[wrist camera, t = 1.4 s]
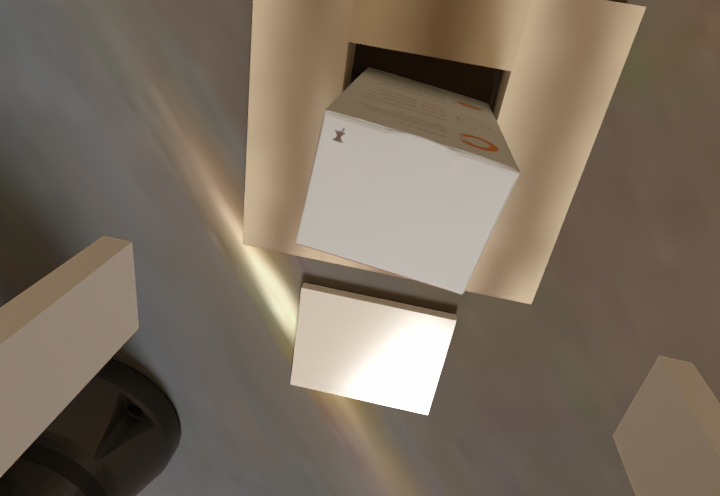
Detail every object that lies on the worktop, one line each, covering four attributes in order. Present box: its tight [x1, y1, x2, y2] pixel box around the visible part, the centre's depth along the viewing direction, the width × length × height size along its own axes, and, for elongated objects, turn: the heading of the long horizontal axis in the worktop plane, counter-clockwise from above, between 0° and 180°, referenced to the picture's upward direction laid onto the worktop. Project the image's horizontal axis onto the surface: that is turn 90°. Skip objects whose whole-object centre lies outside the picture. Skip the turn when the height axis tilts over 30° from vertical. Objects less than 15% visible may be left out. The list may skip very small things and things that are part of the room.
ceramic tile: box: [291, 282, 457, 415], centre depth 40 cm, size 12×10×1 cm
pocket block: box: [243, 0, 646, 304], centre depth 30 cm, size 20×18×3 cm
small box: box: [296, 67, 520, 295], centre depth 26 cm, size 8×6×13 cm
